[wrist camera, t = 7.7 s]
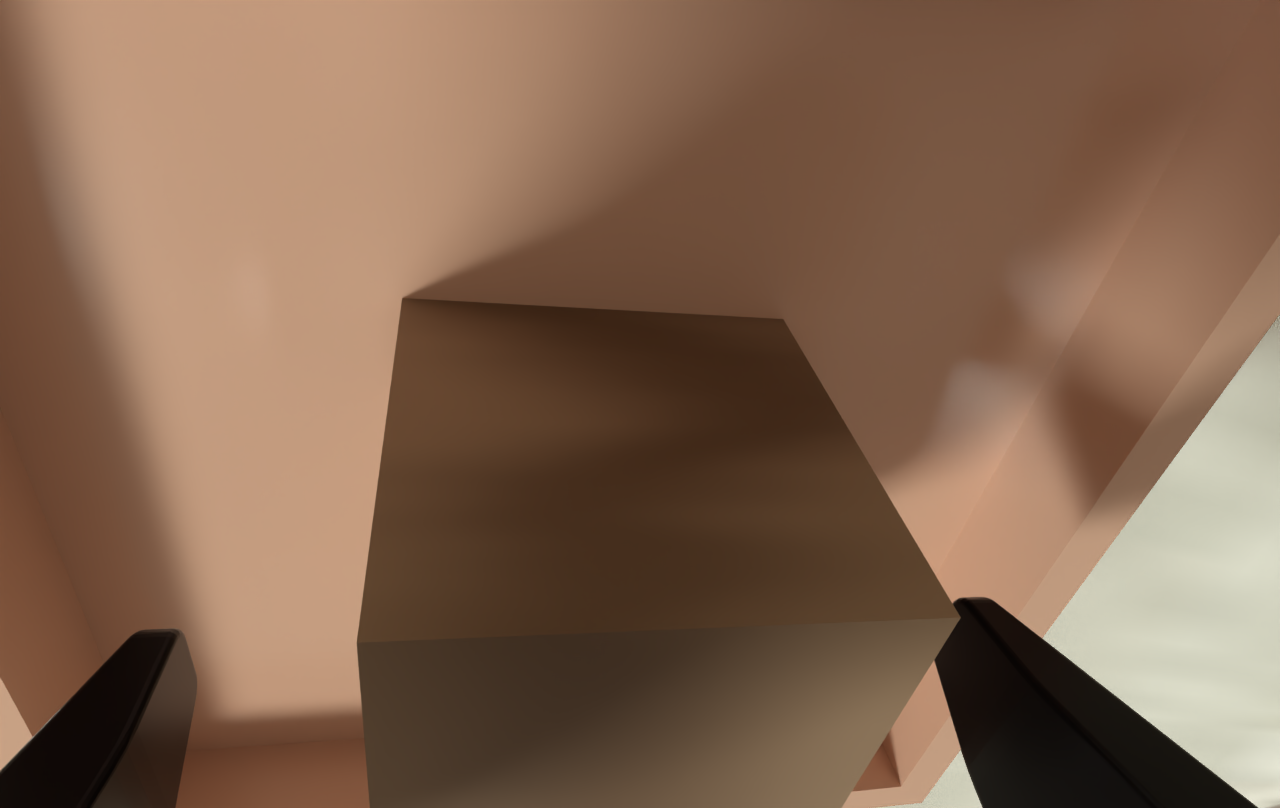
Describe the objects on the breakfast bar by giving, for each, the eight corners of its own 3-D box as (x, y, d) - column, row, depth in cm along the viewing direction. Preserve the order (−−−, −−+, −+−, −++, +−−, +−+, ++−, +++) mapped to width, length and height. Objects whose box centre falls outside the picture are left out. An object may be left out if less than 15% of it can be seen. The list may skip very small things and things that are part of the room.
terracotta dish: (1324, -90, 9) (1552, -58, 7) (874, 697, 19) (921, 802, 17) (-421, -462, 6) (-894, -595, 4) (113, 749, 15) (59, 893, 13)
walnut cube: (783, 319, 11) (960, 617, 7) (706, 565, 14) (800, 873, 10) (401, 297, 10) (356, 642, 6) (406, 572, 13) (379, 924, 9)
